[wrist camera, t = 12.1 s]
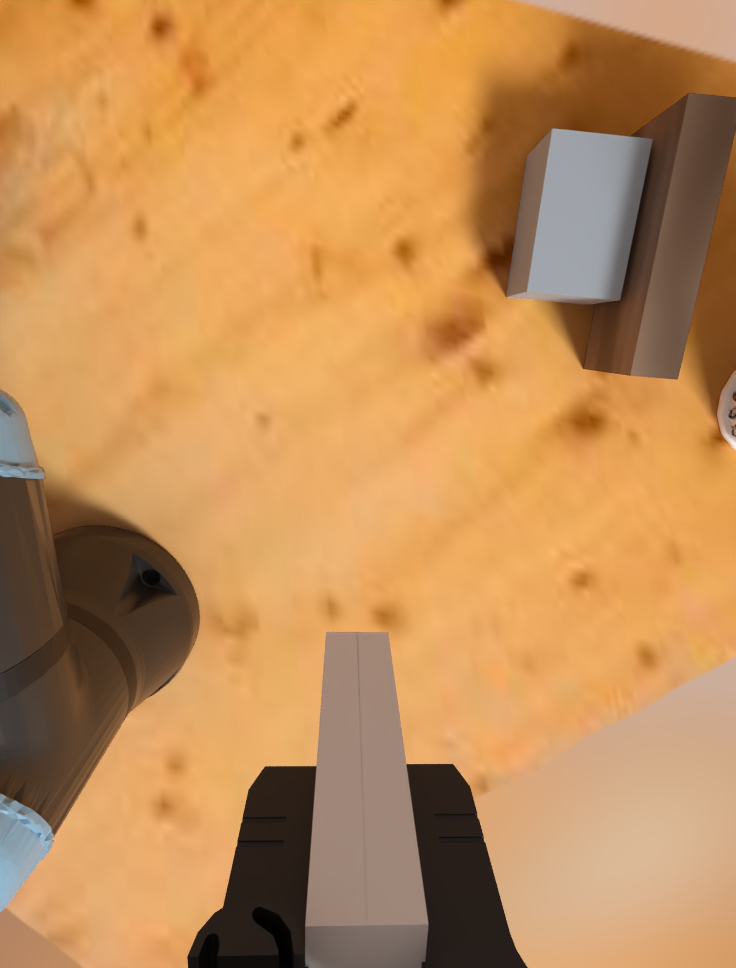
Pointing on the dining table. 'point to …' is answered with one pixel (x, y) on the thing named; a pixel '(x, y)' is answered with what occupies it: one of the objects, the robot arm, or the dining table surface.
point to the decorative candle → (728, 411)
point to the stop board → (667, 241)
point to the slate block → (577, 217)
